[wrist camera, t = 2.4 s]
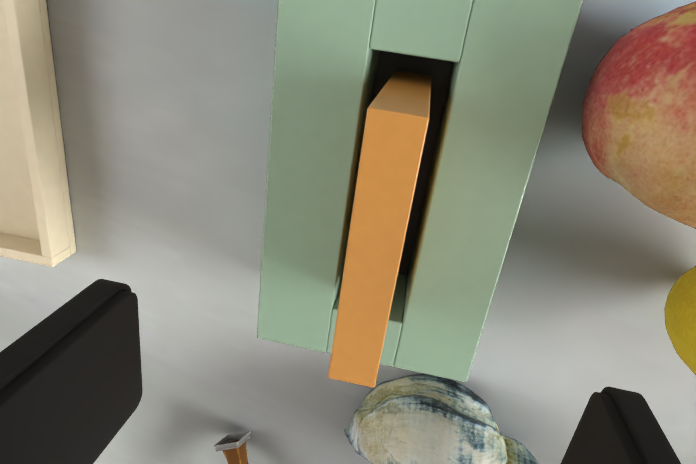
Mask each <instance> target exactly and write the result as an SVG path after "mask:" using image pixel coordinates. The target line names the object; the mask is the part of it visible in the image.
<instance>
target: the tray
mask: <svg viewBox="0 0 696 464" xmlns="http://www.w3.org/2000/svg"><path fill="white" fill-rule="evenodd" d="M75 252H76V245H75V236H74V228H73V220H72V212H71V203H70V195H69V187H68V178H67V170H66V162H65V154H64V145H63V137H62V129H61V120H60V112H59V104H58V95H57V87H56V79H55V71H54V62H53V54H52V46H51V37H50V29H49V21H48V13H47V4H46V0H0V256H3V257H8V258H13V259H18V260H22V261H27V262H32V263H37V264H41V265H46V266H51V267H53V266H55V265H57V264H58V263H60V262H61V261H63V260H64V259H66V258H67V257H69V256H70V255H72V254H74V253H75Z"/></svg>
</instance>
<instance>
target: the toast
mask: <svg viewBox="0 0 696 464" xmlns="http://www.w3.org/2000/svg"><path fill="white" fill-rule="evenodd" d="M430 93H431V76H430V75H425V74H418V73H412V72H405V71H399V70H396V71H395V72H394V74H393V75H392V76H391V78H390V79H389V80H388V82H387V83H386V84H385V86H384V87H383V88H382V90H381V91H380V92H379V94H378V95H377V96H376V98H375V99H374V100H373V102H372V103H371V104H370V106H369V107H368V109H367V114H366V121H365V128H364V135H363V142H362V148H361V155H360V162H359V169H358V176H357V182H356V189H355V196H354V203H353V210H352V216H351V223H350V230H349V237H348V244H347V250H346V257H345V264H344V271H343V278H342V284H341V291H340V298H339V305H338V312H337V318H336V325H335V332H334V339H333V346H332V352H331V359H330V366H329V373H328V378H331V379H336V380H340V381H345V382H349V383H354V384H359V385H363V386H368V387H372V388H374V387H375V384H376V379H377V374H378V369H379V364H380V359H381V354H382V350H383V345H384V340H385V335H386V330H387V325H388V320H389V315H390V310H391V305H392V300H393V295H394V290H395V285H396V280H397V276H398V271H399V266H400V261H401V256H402V251H403V246H404V241H405V236H406V231H407V226H408V221H409V216H410V211H411V206H412V202H413V197H414V192H415V187H416V182H417V177H418V172H419V167H420V162H421V157H422V152H423V147H424V142H425V137H426V132H427V127H428V123H429V113H430Z"/></svg>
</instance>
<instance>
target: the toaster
mask: <svg viewBox="0 0 696 464" xmlns="http://www.w3.org/2000/svg"><path fill="white" fill-rule="evenodd" d="M582 3H583V0H278V12H277V28H276V44H275V59H274V75H273V91H272V106H271V122H270V138H269V153H268V169H267V185H266V201H265V216H264V232H263V248H262V263H261V279H260V295H259V310H258V326H257V338H260V339H265V340H270V341H274V342H279V343H284V344H288V345H293V346H298V347H302V348H307V349H312V350H316V351H321V352H326V351H327V352H328V353H331V352H332V346H333V339H334V332H335V325H336V318H337V312H338V305H339V298H340V291H341V284H342V278H343V271H344V264H345V257H346V250H347V244H348V237H349V230H350V223H351V216H352V210H353V203H354V196H355V189H356V182H357V176H358V169H359V162H360V155H361V148H362V142H363V135H364V128H365V121H366V114H367V109H368V107H369V106H370V104H371V103H372V102H373V100H374V99H375V98H376V96H377V95H378V94H379V92H380V91H381V90H382V88H383V87H384V86H385V84H386V83H387V82H388V80H389V79H390V78H391V76H392V75H393V74H394V72H395V71H396V70H399V71H405V72H412V73H418V74H425V75H430V76H431V93H430V113H429V123H428V127H427V132H426V137H425V142H424V147H423V152H422V157H421V162H420V167H419V172H418V177H417V182H416V187H415V192H414V197H413V202H412V206H411V211H410V216H409V221H408V226H407V231H406V236H405V241H404V246H403V251H402V256H401V261H400V266H399V271H398V276H397V280H396V285H395V290H394V295H393V300H392V305H391V310H390V315H389V320H388V325H387V330H386V335H385V340H384V345H383V350H382V354H381V359H380V364H382V365H387V366H393V365H394V367H396V368H401V369H406V370H410V371H415V372H420V373H424V374H429V375H434V376H438V377H443V378H447V379H452V380H457V381H461V382H466V381H467V379H468V376H469V373H470V369H471V366H472V363H473V359H474V356H475V353H476V350H477V346H478V343H479V340H480V337H481V333H482V330H483V327H484V324H485V320H486V317H487V314H488V310H489V307H490V304H491V301H492V297H493V294H494V291H495V288H496V284H497V281H498V278H499V274H500V271H501V268H502V265H503V261H504V258H505V255H506V252H507V248H508V245H509V242H510V239H511V235H512V232H513V229H514V225H515V222H516V219H517V216H518V212H519V209H520V206H521V203H522V199H523V196H524V193H525V189H526V186H527V183H528V180H529V176H530V173H531V170H532V167H533V163H534V160H535V157H536V154H537V150H538V147H539V144H540V140H541V137H542V134H543V131H544V127H545V124H546V121H547V118H548V114H549V111H550V108H551V104H552V101H553V98H554V95H555V91H556V88H557V85H558V82H559V78H560V75H561V72H562V69H563V65H564V62H565V59H566V55H567V52H568V49H569V46H570V42H571V39H572V36H573V33H574V29H575V26H576V23H577V20H578V16H579V13H580V10H581V6H582Z"/></svg>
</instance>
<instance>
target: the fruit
mask: <svg viewBox="0 0 696 464" xmlns="http://www.w3.org/2000/svg"><path fill="white" fill-rule="evenodd" d="M582 137H583V141H584V144H585V147H586V150H587V152H588V154H589V156H590V158H591V160H592V162H593V164H594V165H595V166H596V168H597V169H598V170H599V171H600V172H601V173H602V174H604V175H605V176H606V177H608V178H611V179H612V180H613V181H616V182H617V183H619V184H620V185H621V186H623V187H624V188H625V189H626V190H627V191H628V192H630V193H631V194H632V195H633V196H635V197H636V198H638V199H639V200H640V201H641V202H643V203H644V204H645V205H646V206H648V207H650V208H652V209H654V210H655V211H657V212H659V213H662V214H664V215H666V216H668V217H670V218H672V219H674V220H676V221H679V222H681V223H683V224H685V225H688V226H691V227H693V228H695V229H696V2H693V3H691V4H688V5H685V6H682V7H678V8H676V9H674V10H672V11H670V12H668V13H666V14H664V15H661V16H658V17H655V18H653V19H651V20H649V21H647V22H645V23H643V24H641V25H639V26H637V27H636V28H634V29H631V30H630V32H629V33H628V34H627V35H625V36H622V37H621V38H620V39H618V40H617V42H616V43H615V44H614V45H613V46H612V47H611V49H610V50H609V51H608V53H607V54H606V55H605V56H604V58H603V59H602V60H601V61H600V63H599V64H598V66H597V68H596V70H595V72H594V74H593V76H592V77H591V79H590V82H589V86H588V89H587V92H586V95H585V98H584V102H583V113H582Z"/></svg>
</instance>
